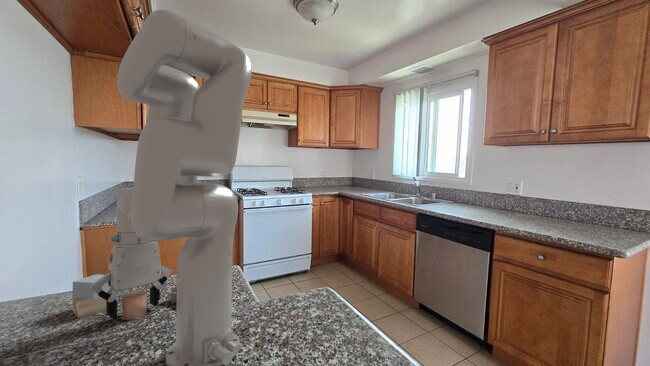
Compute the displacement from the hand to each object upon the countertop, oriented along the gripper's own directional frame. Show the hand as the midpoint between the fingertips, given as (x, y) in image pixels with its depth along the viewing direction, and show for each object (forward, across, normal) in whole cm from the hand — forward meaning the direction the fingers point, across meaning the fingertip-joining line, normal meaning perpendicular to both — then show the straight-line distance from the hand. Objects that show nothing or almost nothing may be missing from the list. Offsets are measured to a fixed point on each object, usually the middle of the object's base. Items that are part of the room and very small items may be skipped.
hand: (134, 310), depth 67 cm
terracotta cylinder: (+1, 0, 0) cm, 1 cm away
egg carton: (+2, +13, -2) cm, 13 cm away
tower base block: (+1, -5, +12) cm, 13 cm away
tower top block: (-3, -5, +12) cm, 13 cm away
